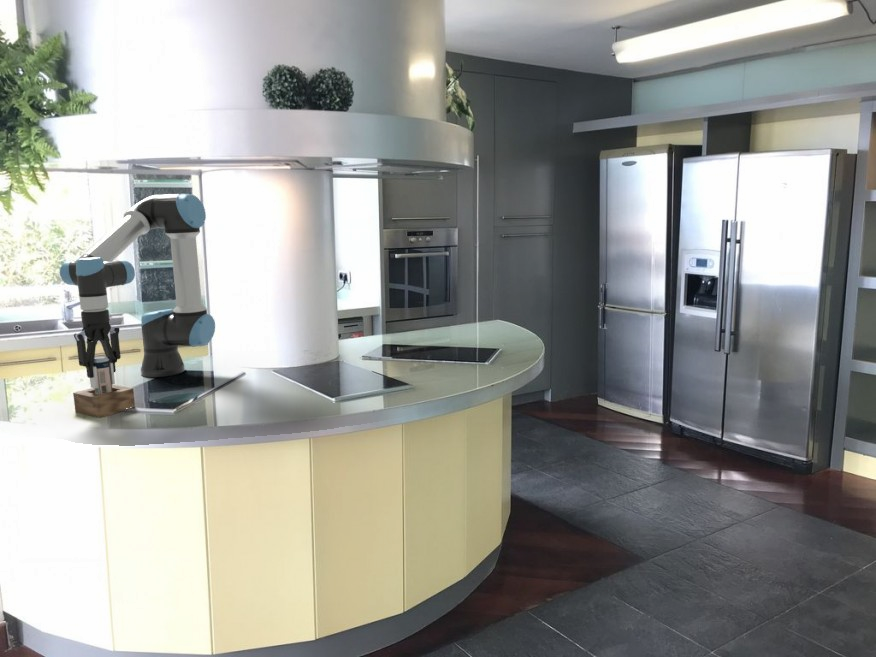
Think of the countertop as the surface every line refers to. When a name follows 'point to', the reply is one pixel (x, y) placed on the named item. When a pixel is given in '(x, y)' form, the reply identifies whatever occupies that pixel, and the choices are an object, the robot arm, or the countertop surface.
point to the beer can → (103, 375)
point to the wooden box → (103, 401)
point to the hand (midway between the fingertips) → (103, 385)
